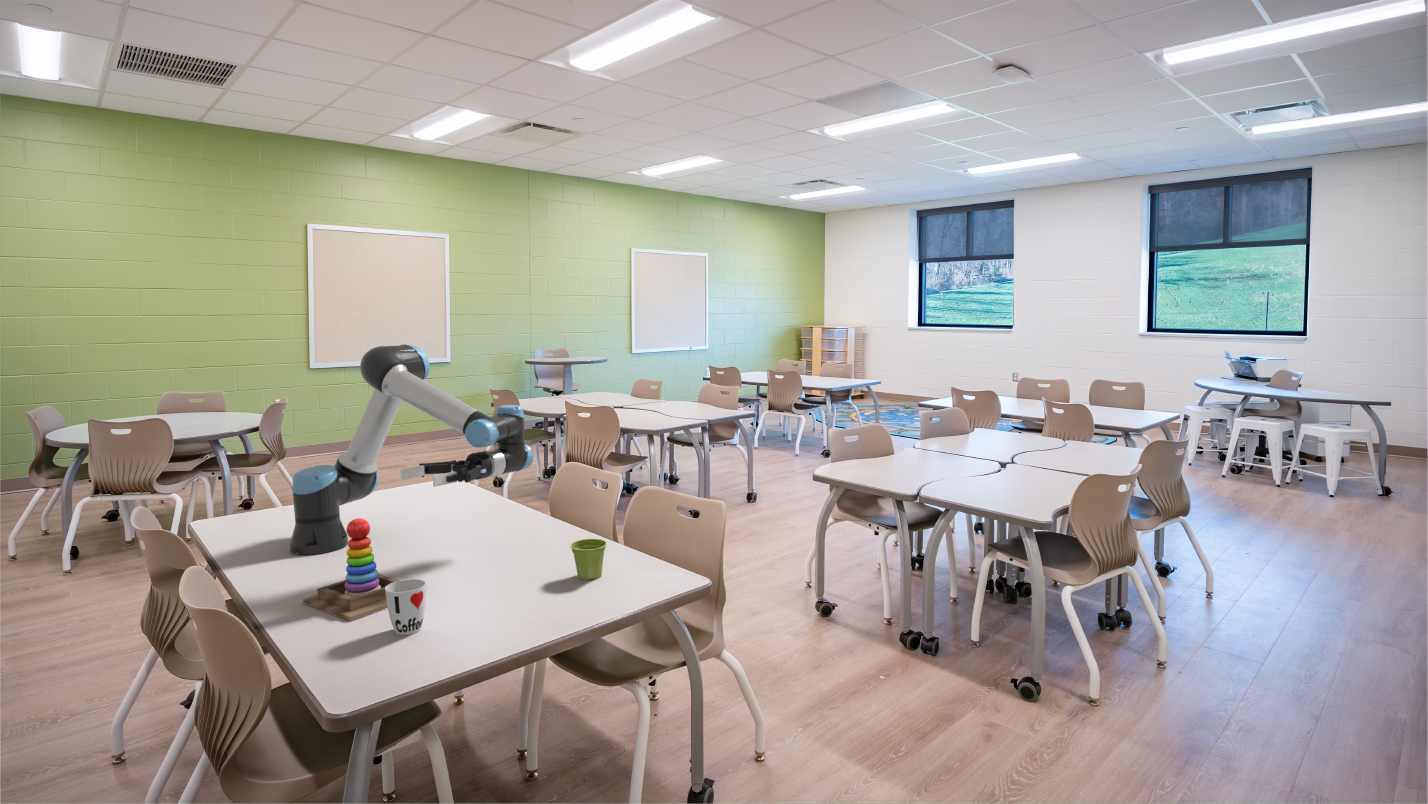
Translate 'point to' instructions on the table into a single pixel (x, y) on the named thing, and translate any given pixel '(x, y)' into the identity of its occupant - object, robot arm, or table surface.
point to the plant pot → (589, 557)
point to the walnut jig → (350, 600)
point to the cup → (406, 605)
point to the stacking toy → (360, 560)
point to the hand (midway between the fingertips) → (417, 477)
